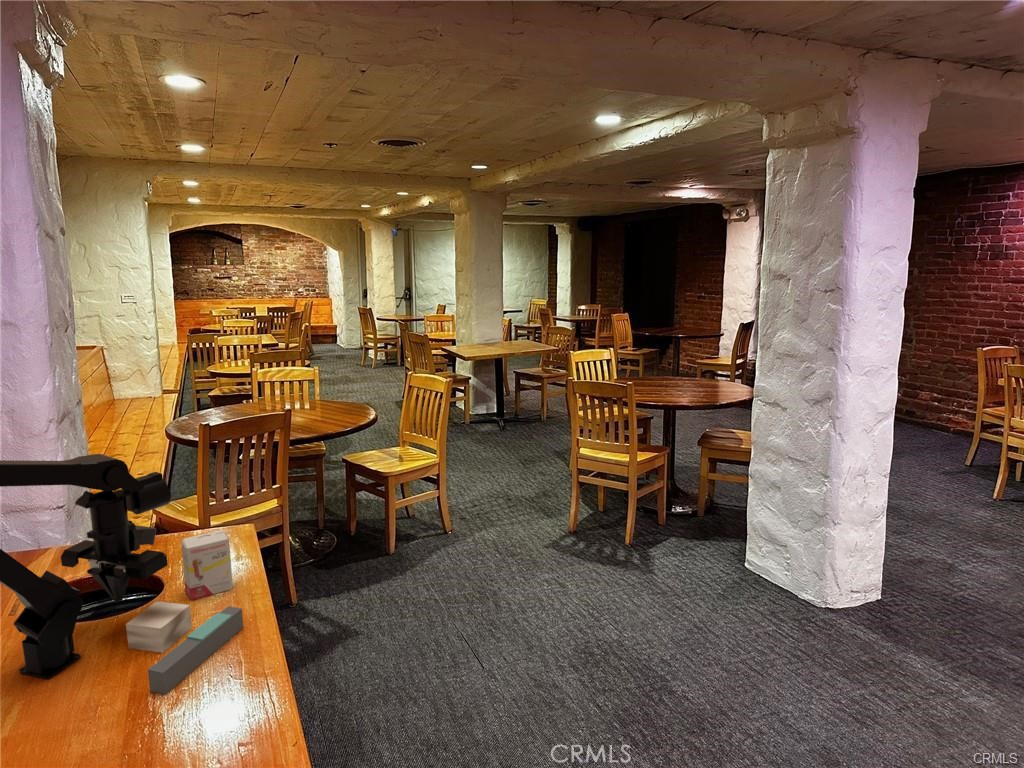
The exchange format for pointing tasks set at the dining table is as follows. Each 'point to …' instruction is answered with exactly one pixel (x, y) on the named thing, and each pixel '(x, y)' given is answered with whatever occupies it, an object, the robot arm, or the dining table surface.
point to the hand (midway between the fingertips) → (118, 600)
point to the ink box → (206, 564)
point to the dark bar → (194, 650)
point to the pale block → (158, 626)
